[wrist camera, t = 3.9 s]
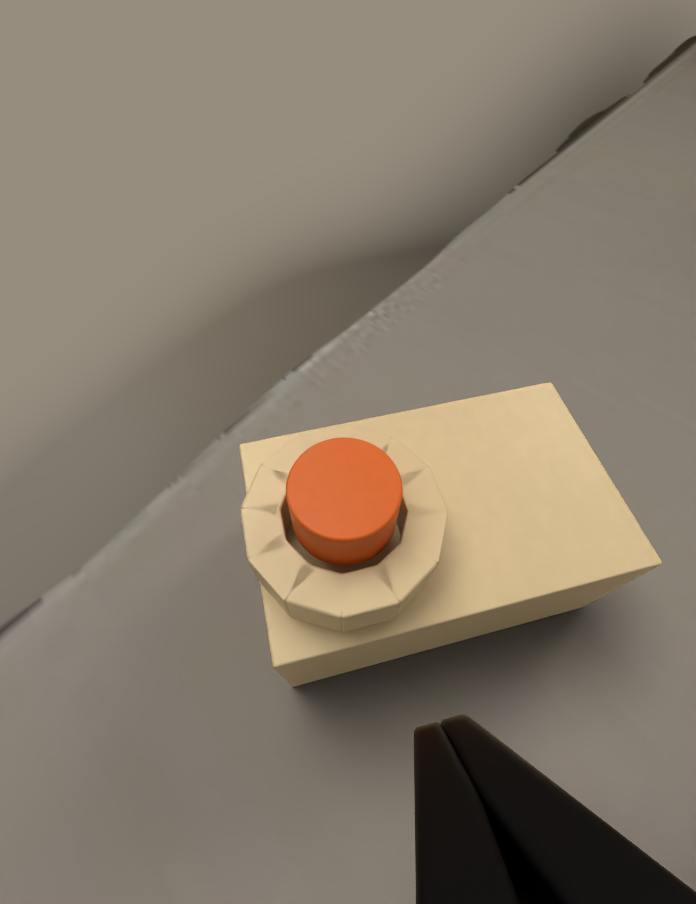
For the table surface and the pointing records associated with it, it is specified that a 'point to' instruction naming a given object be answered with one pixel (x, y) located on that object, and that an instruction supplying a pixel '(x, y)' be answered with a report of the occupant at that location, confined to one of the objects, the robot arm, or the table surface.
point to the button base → (444, 534)
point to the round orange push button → (344, 500)
